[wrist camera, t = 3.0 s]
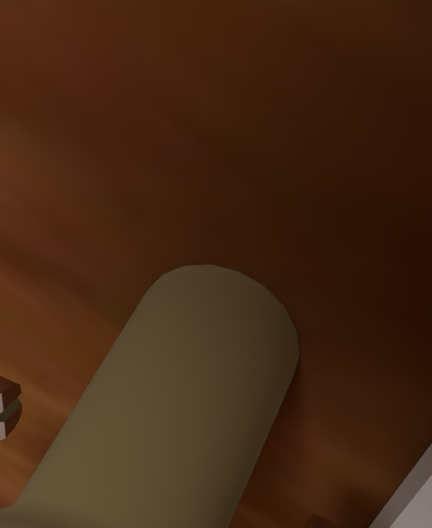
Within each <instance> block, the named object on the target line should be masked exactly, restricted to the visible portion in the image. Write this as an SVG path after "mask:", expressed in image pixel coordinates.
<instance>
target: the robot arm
mask: <svg viewBox="0 0 432 528" xmlns="http://www.w3.org/2000/svg"><path fill="white" fill-rule="evenodd" d="M20 394H21V387H20V384H18V383H15V382H13V381H11V380H9V379H6V378H4V377H2V376H0V440H2V439H4V438H6V437H7V436H8V435H9V434H10V433H11V431H12V430H13V429H14V428H15V426H16V424H17V423H18V421H19V419H20V416H21V413H22V404H21V402H20V401H19V399H18V398H17V397H18V396H19V395H20ZM306 528H345V527H343V526H341V525H338V524H336V523H334V522H331V521H329V520H326V519H324V518H322V517H319V516H317V515H315V514H312V515H310V517H309V518H308V520H307V524H306Z"/></svg>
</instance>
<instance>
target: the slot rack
mask: <svg viewBox="0 0 432 528" xmlns="http://www.w3.org/2000/svg"><path fill="white" fill-rule="evenodd" d="M369 528H432V443H431V445H430V446H429V447H428V449H427V450H426V451H425V453H424V454H423V455H422V457H421V458H420V459H419V461H418V462H417V464H416V465H415V466H414V468H413V469H412V470H411V472H410V473H409V474H408V476H407V477H406V478H405V480H404V481H403V482H402V484H401V485H400V486H399V488H398V489H397V490H396V492H395V493H394V494H393V496H392V497H391V498H390V500H389V501H388V502H387V504H386V505H385V506H384V508H383V509H382V510H381V512H380V513H379V514H378V516H377V517H376V518H375V520H374V521H373V522H372V524H371V525H370V526H369Z"/></svg>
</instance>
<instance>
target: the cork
mask: <svg viewBox="0 0 432 528" xmlns="http://www.w3.org/2000/svg"><path fill="white" fill-rule="evenodd" d="M299 355H300V350H299V343H298V336H297V329H296V327H295V326H294V324H293V322H292V320H291V318H290V316H289V314H288V312H287V310H286V308H285V307H284V305H283V304H282V303H281V302H280V301H279V300H278V299H277V298H276V297H275V296H274V295H273V294H272V293H271V292H270V291H269V290H268V289H267V288H266V287H265V286H264V285H262V284H260V283H258V282H256V281H255V280H253V279H251V278H249V277H248V276H246V275H244V274H242V273H241V272H239V271H235V270H231V269H227V268H223V267H219V266H215V265H211V264H208V265H188V266H183V267H180V268H178V269H175V270H173V271H170V272H168V273H165V274H163V275H162V276H161V277H160V278H159V279H158V280H157V281H156V282H155V283H154V284H153V285H152V286H151V287H150V288H149V289H148V290H147V291H146V293H145V295H144V296H143V298H142V299H141V301H140V303H139V304H138V306H137V307H136V309H135V311H134V312H133V314H132V316H131V317H130V319H129V320H128V322H127V324H126V325H125V327H124V328H123V330H122V332H121V333H120V335H119V336H118V338H117V340H116V341H115V343H114V345H113V346H112V348H111V349H110V351H109V353H108V354H107V356H106V357H105V359H104V361H103V362H102V364H101V366H100V367H99V369H98V370H97V372H96V374H95V375H94V377H93V378H92V380H91V382H90V383H89V385H88V386H87V388H86V390H85V391H84V393H83V395H82V396H81V398H80V399H79V401H78V403H77V404H76V406H75V407H74V409H73V411H72V412H71V414H70V416H69V417H68V419H67V420H66V422H65V424H64V425H63V427H62V428H61V430H60V432H59V433H58V435H57V436H56V438H55V440H54V441H53V443H52V445H51V446H50V448H49V449H48V451H47V453H46V454H45V456H44V457H43V459H42V461H41V462H40V464H39V466H38V467H37V469H36V470H35V472H34V474H33V475H32V477H31V478H30V480H29V482H28V483H27V485H26V486H25V488H24V490H23V491H22V493H21V495H20V496H19V498H18V499H17V501H16V503H15V504H14V505H11V506H9V507H6V508H4V509H1V510H0V528H228V527H229V525H230V522H231V520H232V518H233V515H234V513H235V511H236V508H237V506H238V504H239V501H240V499H241V497H242V495H243V492H244V490H245V488H246V485H247V483H248V481H249V478H250V476H251V474H252V471H253V469H254V467H255V464H256V462H257V460H258V457H259V455H260V453H261V450H262V448H263V446H264V443H265V441H266V439H267V436H268V434H269V432H270V429H271V427H272V425H273V423H274V420H275V418H276V416H277V413H278V411H279V409H280V406H281V404H282V402H283V399H284V397H285V395H286V392H287V390H288V388H289V385H290V383H291V381H292V378H293V376H294V374H295V370H296V366H297V362H298V358H299Z"/></svg>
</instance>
